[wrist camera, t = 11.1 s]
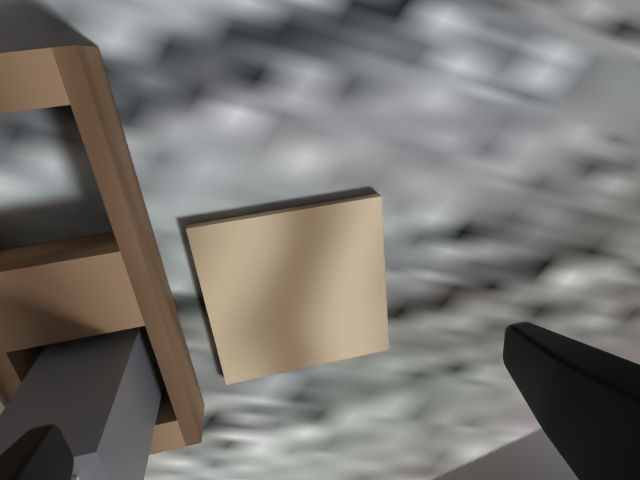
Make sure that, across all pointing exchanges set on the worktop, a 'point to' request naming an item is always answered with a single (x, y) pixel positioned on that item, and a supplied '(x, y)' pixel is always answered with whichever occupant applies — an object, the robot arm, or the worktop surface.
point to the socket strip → (92, 249)
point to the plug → (93, 402)
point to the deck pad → (294, 285)
